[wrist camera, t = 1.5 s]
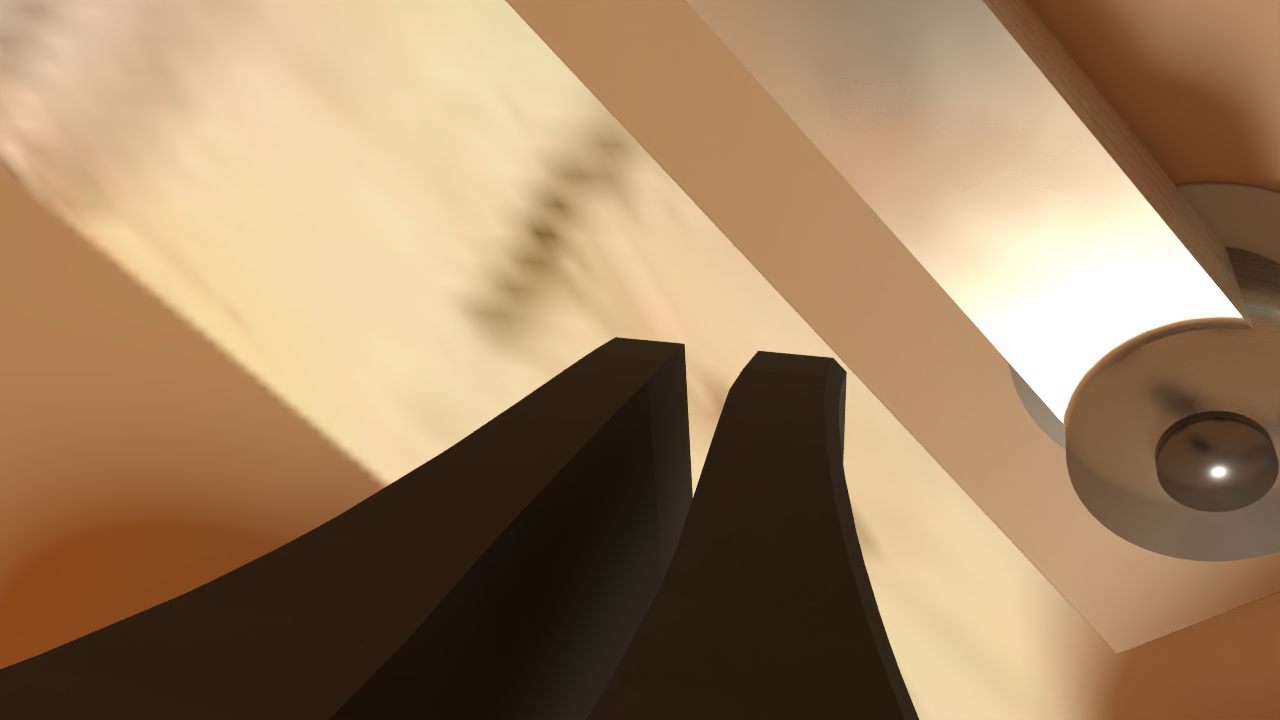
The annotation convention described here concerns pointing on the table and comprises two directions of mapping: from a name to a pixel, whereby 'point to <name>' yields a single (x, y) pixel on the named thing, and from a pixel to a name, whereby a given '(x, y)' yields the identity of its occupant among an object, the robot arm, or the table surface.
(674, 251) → the table surface
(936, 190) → the lock bar
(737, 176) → the door board
